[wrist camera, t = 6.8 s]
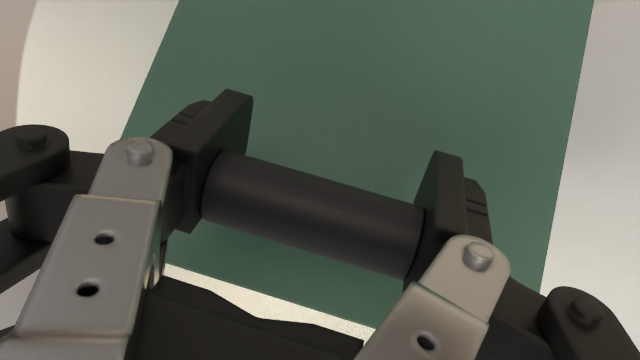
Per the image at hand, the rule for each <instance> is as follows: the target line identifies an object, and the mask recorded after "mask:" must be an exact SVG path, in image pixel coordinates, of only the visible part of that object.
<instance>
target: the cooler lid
mask: <svg viewBox="0 0 640 360" xmlns="http://www.w3.org/2000/svg"><path fill="white" fill-rule="evenodd" d="M593 2H594V0H179V2H178V5H177V7H176V9H175V12H174V14H173V16H172V19H171V21H170V23H169V26H168V28H167V30H166V33H165V35H164V38H163V40H162V42H161V45H160V47H159V49H158V52H157V54H156V56H155V59H154V61H153V63H152V66H151V68H150V70H149V73H148V75H147V77H146V80H145V82H144V84H143V87H142V89H141V91H140V94H139V96H138V98H137V101H136V103H135V105H134V108H133V110H132V113H131V115H130V117H129V120H128V122H127V124H126V127H125V129H124V131H123V134H122V136H121V138H120V140H121V139H124V138H130V137H145V138H149V137H150V136H151V135H153V134H154V133H155V132H156V131H157V130H159V129H160V128H161V127H162V126H163V125H165V124H166V123H167V122H168V121H171V119H172V118H173V117H174V116H175V115H177V114H179V112H180V111H181V110H183V109H184V108H185V107H186V106H187V105H189V104H192V103H195V102H198V101H201V100H207V101H210V102H212V101H213V100H214V99H215V98H216V97H217V96H218V95H219V94H220V93H222V92H223V91H224V90H225V89H230V90H234V91H237V92H241V93H244V94H248V95H251V96H253V111H252V117H251V124H250V131H249V138H248V145H247V150H246V153H245V155H244V154H240V153H237V152H234V151H230V150H223V151H221V152H220V153H219V154H218V156H217V157H216V158H215V160H214V162H213V163H212V165H211V167H210V170H209V172H208V174H207V177H206V180H205V183H204V187H203V191H202V196H201V204H200V212H201V216H202V219H201V220H200V221H199V223H198V224H197V225H196V227H195V228H194V230H193V231H192V232H191V234H188V233H185V232H182V231H179V230H174V231H173V232H172V234H171V235H170V236H169V240H168V251H167V257H166V263H167V264H170V265H174V266H177V267H180V268H183V269H186V270H190V271H193V272H196V273H199V274H202V275H205V276H209V277H212V278H215V279H218V280H221V281H225V282H228V283H231V284H234V285H237V286H240V287H244V288H247V289H250V290H253V291H256V292H260V293H263V294H266V295H269V296H272V297H275V298H279V299H282V300H285V301H288V302H291V303H295V304H298V305H301V306H304V307H307V308H310V309H314V310H317V311H320V312H323V313H326V314H329V315H333V316H336V317H339V318H342V319H345V320H349V321H352V322H355V323H358V324H361V325H364V326H368V327H371V328H374V329H377V328H378V326H379V325H380V324H381V322H382V321H383V320H384V318H385V317H386V315H387V314H388V313H389V311H390V310H391V309H392V307H393V306H394V305H395V303H396V302H397V301H398V299H399V298H400V297H401V295H402V291H403V281H404V279H405V278H406V277H407V275H408V273H409V271H410V269H411V267H412V265H413V262H414V259H415V256H416V253H417V250H418V247H419V243H420V239H421V235H422V231H423V225H424V218H425V212H424V208H423V207H422V206H418V205H415V204H413V202H414V199H415V196H416V194H417V191H418V189H419V186H420V184H421V181H422V179H423V176H424V174H425V171H426V169H427V166H428V164H429V161H430V159H431V156H432V154H433V152H434V151H435V150H438V151H441V152H444V153H448V154H451V155H455V156H458V157H461V158H462V159H463V171H464V177H466V178H469V179H473V180H476V181H477V182H478V184H479V185H480V186H481V188H482V189H483V190H484V192H485V194H486V200H487V207H488V214H489V215H488V217H489V220H490V227H491V234H492V241H493V245H494V246H495V247H497V248H498V249H499V250H500V251H501V252H502V253H503V254H504V255H505V256H506V258H507V259H508V261H509V263H510V267H511V272H510V276H511V277H512V278H513V279H515V280H516V281H518V282H519V283H521V284H523V285H524V286H526V287H528V288H530V289H532V290H534V291H535V292H537V293H539V292H540V287H541V281H542V276H543V271H544V265H545V260H546V255H547V249H548V244H549V238H550V233H551V228H552V222H553V217H554V212H555V206H556V201H557V195H558V190H559V185H560V179H561V174H562V169H563V163H564V158H565V152H566V147H567V142H568V136H569V131H570V126H571V120H572V115H573V110H574V104H575V99H576V93H577V88H578V83H579V77H580V72H581V67H582V61H583V56H584V50H585V45H586V40H587V34H588V29H589V24H590V18H591V13H592V7H593Z"/></svg>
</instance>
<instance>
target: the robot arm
mask: <svg viewBox="0 0 640 360" xmlns="http://www.w3.org/2000/svg"><path fill="white" fill-rule="evenodd" d="M252 111H253V96H251V95H248V94H244V93H241V92H237V91H234V90H230V89H225V90H224V91H223V92H222V93H220V94H219V95H218V96H217V97H216V98H215V99H214V100H213V101H212V102H210V101H207V100H201V101H198V102H195V103H192V104H189V105H187V106H186V107H185V108H184V109H183V110H181V111H180V112H179V114H177V115H175V116H174V117H173V118H172V119H171V121H168V122H167V123H166V124H165V125H163V126H162V127H161V128H160V129H159V130H157V131H156V132H155V133H154V134H153V135H151V136H150V137H149V138H145V137H130V138H124V139H121V140H118V141H116V142H114V143H112V144H111V145H110V146H109V147H108V148H107V149H106V152H105V154H100V153H90V152H80V151H70V149H69V139H68V136H67V135H66V134H65V133H64V132H63V131H61V130H60V129H57V128H55V127H51V126H46V125H22V126H16V127H13V128H9V129H6V130H3V131H1V132H0V202H1V201H3V200H5V204H6V210H7V215H8V218H6V219H4V220H2V221H1V222H0V294H1V293H3V292H4V291H5V290H7V289H9V288H10V287H12V286H13V285H15V284H16V283H18V282H20V281H21V280H23V279H24V278H26V277H27V276H29V275H31V274H32V273H34V272H35V271H37V270H38V269H40V268H41V269H40V271H39V274H38V276H37V278H36V280H35V282H34V285H33V287H32V289H31V291H30V293H29V296H28V298H27V300H26V302H25V305H24V307H23V309H22V311H21V313H20V315H19V318H18V320H17V322H16V324H15V325H13V326H11V327H8V328H6V329H3V330H0V360H640V352H639V351H638V349H637V348H636V346H635V345H634V343H633V342H632V340H631V339H630V337H629V335H628V334H627V332H626V331H625V329H624V328H623V326H622V325H621V323H620V322H619V320H618V319H617V317H616V316H615V315H614V313H613V312H612V311H611V310H610V309H609V308H608V307H607V306H606V305H605V304H603V303H602V302H601V301H600V300H598V299H597V298H595V297H594V296H592V295H590V294H588V293H586V292H584V291H582V290H579V289H576V288H572V287H565V286H562V287H557V288H554V289H553V290H552V291H551V292H550V293H549V295H548V296H547V297H545V296H543V295H541V294H539V293H537V292H535V291H534V290H532V289H530V288H528V287H526V286H524V285H523V284H521V283H519V282H518V281H516V280H515V279H513V278H512V277H511V276H510V272H511V267H510V263H509V261H508V259H507V258H506V256H505V255H504V254H503V253H502V252H501V251H500V250H499V249H498V248H497V247H495V246H494V245H493V241H492V234H491V227H490V220H489V217H488V215H489V214H488V207H487V200H486V194H485V192H484V190H483V189H482V188H481V186H480V185H479V184H478V182H477V181H476V180H473V179H469V178H466V177H464V171H463V159H462V158H461V157H458V156H455V155H451V154H448V153H444V152H441V151H438V150H435V151H434V152H433V154H432V156H431V159H430V161H429V164H428V166H427V169H426V171H425V174H424V176H423V179H422V181H421V184H420V186H419V189H418V191H417V194H416V196H415V199H414V202H413V204H415V205H418V206H422V207H423V208H424V212H425V218H424V225H423V231H422V235H421V239H420V243H419V247H418V250H417V253H416V256H415V259H414V262H413V265H412V267H411V269H410V271H409V273H408V275H407V277H406V278H405V279H404V281H403V291H402V295H401V297H400V298H399V299H398V301H397V302H396V303H395V305H394V306H393V307H392V309H391V310H390V311H389V313H388V314H387V315H386V317H385V318H384V320H383V321H382V322H381V324H380V325H379V326H378V328H377V329H376V330H375V332H374V333H373V334H372V336H371V337H370V338H369V340H368V341H367V342H366V344H365V345H364V346H363V344H364V340H361V339H358V338H355V337H352V336H349V335H346V334H343V333H340V332H337V331H334V330H330V329H327V328H324V327H321V326H318V325H315V324H309V323H300V322H290V321H281V320H271V319H262V318H258V317H255V316H253V315H251V314H249V313H248V312H246V311H244V310H243V309H241V308H239V307H237V306H236V305H234V304H232V303H231V302H229V301H227V300H226V299H224V298H222V297H221V296H219V295H217V294H215V293H214V292H212V291H210V290H207V289H204V288H201V287H198V286H195V285H192V284H189V283H185V282H182V281H179V280H176V279H173V278H170V277H167V276H164V270H165V263H166V257H167V251H168V240H169V236H170V235H171V234H172V232H173V231H174V230H179V231H182V232H185V233H188V234H191V232H192V231H193V230H194V228H195V227H196V225H197V224H198V223H199V221H200V220H201V219H202V216H201V212H200V204H201V196H202V191H203V187H204V183H205V180H206V177H207V174H208V172H209V170H210V167H211V165H212V163H213V162H214V160H215V158H216V157H217V156H218V154H219V153H220V152H221V151H223V150H230V151H234V152H237V153H240V154H244V155H245V153H246V150H247V145H248V138H249V131H250V124H251V117H252Z"/></svg>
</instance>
